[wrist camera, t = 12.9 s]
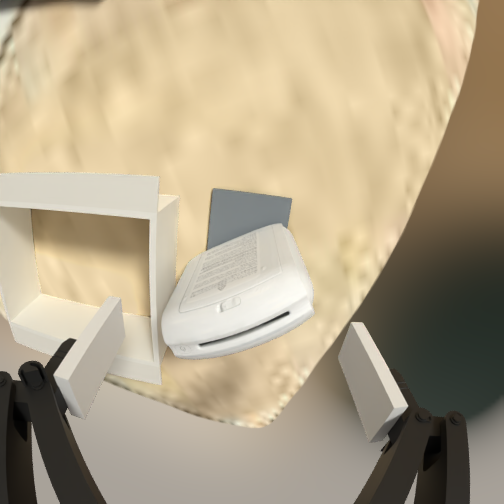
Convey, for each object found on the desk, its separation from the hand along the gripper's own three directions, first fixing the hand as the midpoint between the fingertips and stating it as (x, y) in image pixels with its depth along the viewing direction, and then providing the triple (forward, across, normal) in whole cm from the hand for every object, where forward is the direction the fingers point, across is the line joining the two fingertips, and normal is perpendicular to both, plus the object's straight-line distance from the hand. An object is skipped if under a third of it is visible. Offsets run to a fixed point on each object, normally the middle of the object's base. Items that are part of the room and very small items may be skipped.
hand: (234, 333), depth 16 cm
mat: (+13, +1, 0) cm, 13 cm away
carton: (+13, -15, -2) cm, 20 cm away
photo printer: (+12, 0, 0) cm, 13 cm away
